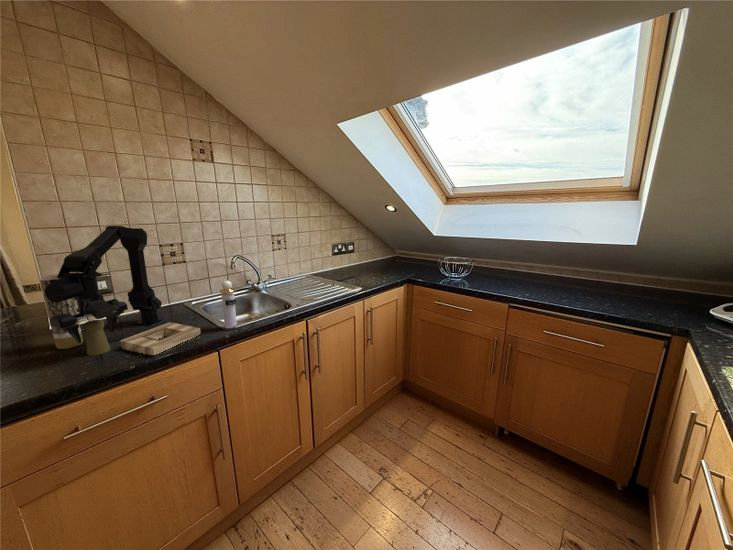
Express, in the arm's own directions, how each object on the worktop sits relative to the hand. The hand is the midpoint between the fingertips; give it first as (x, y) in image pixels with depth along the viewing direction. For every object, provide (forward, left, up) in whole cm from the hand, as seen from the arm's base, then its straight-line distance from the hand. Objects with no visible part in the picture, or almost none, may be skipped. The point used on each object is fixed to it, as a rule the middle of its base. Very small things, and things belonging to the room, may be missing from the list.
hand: (96, 337), depth 99 cm
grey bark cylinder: (-14, -1, -5) cm, 15 cm away
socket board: (+13, +13, -5) cm, 19 cm away
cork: (0, 0, -5) cm, 5 cm away
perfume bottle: (+26, +32, -5) cm, 41 cm away
